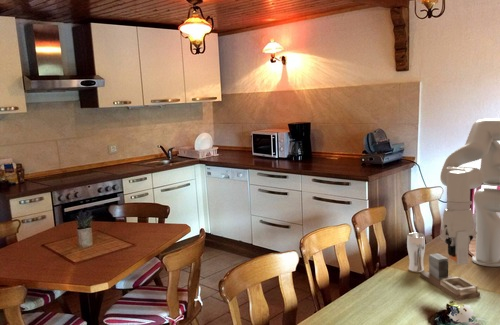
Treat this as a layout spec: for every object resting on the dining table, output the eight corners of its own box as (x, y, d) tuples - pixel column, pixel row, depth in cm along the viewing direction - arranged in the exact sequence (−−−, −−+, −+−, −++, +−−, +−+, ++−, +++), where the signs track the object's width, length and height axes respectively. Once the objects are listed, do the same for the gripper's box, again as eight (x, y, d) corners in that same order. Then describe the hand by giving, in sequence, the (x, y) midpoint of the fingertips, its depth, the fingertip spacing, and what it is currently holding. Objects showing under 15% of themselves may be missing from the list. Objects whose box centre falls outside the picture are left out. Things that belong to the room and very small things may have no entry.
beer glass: (426, 272, 180) (426, 237, 178) (408, 272, 181) (408, 237, 179) (423, 266, 187) (423, 232, 185) (406, 266, 188) (405, 232, 186)
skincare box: (448, 259, 162) (448, 227, 161) (459, 258, 163) (459, 226, 161) (457, 265, 156) (457, 232, 155) (468, 264, 157) (469, 231, 155)
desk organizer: (439, 273, 179) (439, 250, 178) (480, 296, 157) (480, 270, 155) (419, 276, 177) (419, 253, 176) (457, 300, 155) (457, 274, 154)
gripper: (472, 200, 162) (471, 248, 164) (430, 205, 159) (431, 254, 161) (486, 205, 155) (486, 255, 157) (443, 210, 152) (443, 261, 154)
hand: (458, 254), depth 159 cm, fingers closed on skincare box, 4 cm apart
